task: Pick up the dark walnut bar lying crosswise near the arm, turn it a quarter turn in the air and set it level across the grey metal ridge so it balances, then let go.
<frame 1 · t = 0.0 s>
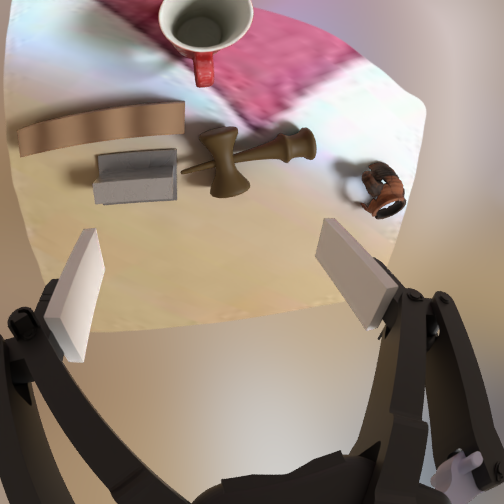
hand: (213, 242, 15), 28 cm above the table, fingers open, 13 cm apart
walnut bar: (103, 121, 33), on the table
kendama: (244, 150, 41), on the table
mug: (197, 47, 30), on the table
fulcrum: (137, 176, 38), on the table
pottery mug: (370, 182, 49), on the table
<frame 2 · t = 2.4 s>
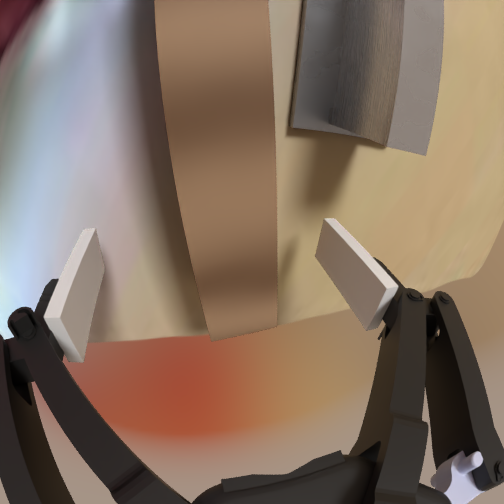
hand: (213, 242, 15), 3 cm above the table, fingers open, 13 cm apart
walnut bar: (205, 104, 14), on the table
fulcrum: (356, 50, 13), on the table
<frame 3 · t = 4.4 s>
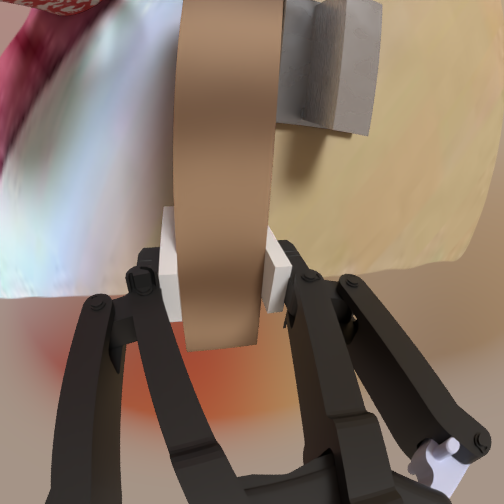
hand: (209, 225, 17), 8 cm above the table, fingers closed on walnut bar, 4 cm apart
walnut bar: (210, 115, 15), point 6 cm above the table, tilted 6°, touching gripper
fulcrum: (323, 63, 19), on the table
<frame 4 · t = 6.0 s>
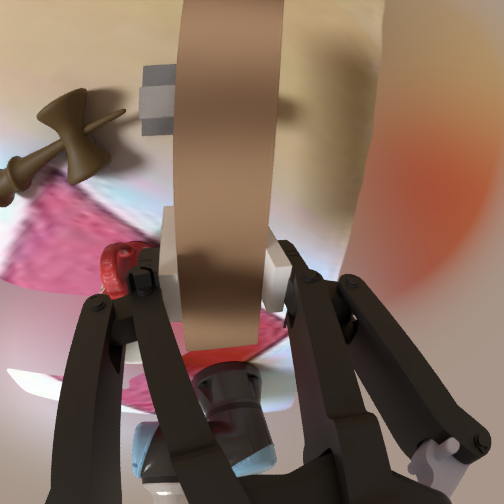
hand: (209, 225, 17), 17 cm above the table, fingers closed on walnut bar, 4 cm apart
walnut bar: (210, 113, 15), point 15 cm above the table, tilted 7°, touching gripper
kendama: (59, 145, 25), on the table
mug: (135, 252, 35), on the table
fulcrum: (197, 98, 27), on the table
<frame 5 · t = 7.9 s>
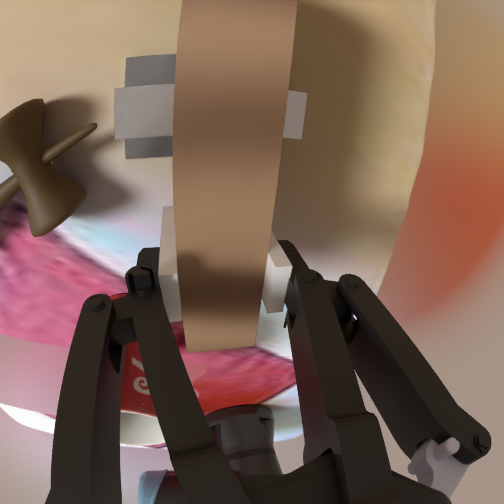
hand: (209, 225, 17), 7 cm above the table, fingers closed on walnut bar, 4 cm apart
walnut bar: (212, 113, 14), point 6 cm above the table, touching fulcrum, gripper
kendama: (21, 178, 17), on the table
mug: (126, 304, 27), on the table
fulcrum: (204, 104, 19), on the table
when the fingers open (6 cm above the table, at t = 8.7 s): walnut bar stays where it is, resting on fulcrum.
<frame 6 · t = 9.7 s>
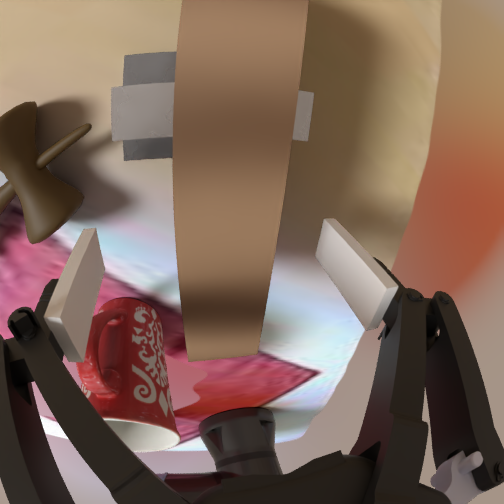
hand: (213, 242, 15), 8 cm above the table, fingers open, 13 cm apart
walnut bar: (214, 113, 13), point 6 cm above the table, touching fulcrum
kendama: (18, 184, 17), on the table
mug: (126, 308, 27), on the table
fulcrum: (205, 103, 18), on the table
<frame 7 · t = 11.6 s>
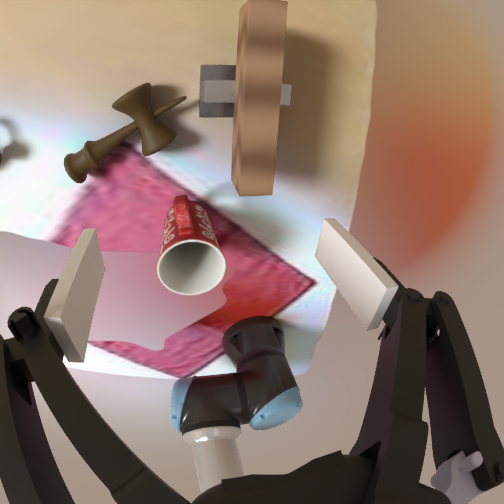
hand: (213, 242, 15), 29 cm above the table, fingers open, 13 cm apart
walnut bar: (250, 93, 31), point 6 cm above the table, touching fulcrum
kendama: (127, 130, 35), on the table
mug: (186, 210, 45), on the table
fulcrum: (240, 91, 36), on the table
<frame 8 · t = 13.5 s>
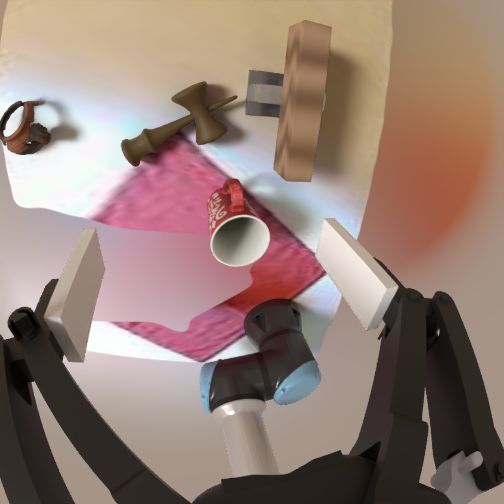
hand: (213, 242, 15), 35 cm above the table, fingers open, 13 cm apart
walnut bar: (293, 98, 38), point 6 cm above the table, touching fulcrum
kendama: (179, 122, 42), on the table
mug: (226, 196, 51), on the table
fulcrum: (281, 95, 43), on the table
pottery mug: (34, 127, 34), on the table
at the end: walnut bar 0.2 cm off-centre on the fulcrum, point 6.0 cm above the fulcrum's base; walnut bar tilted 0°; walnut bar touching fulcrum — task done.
